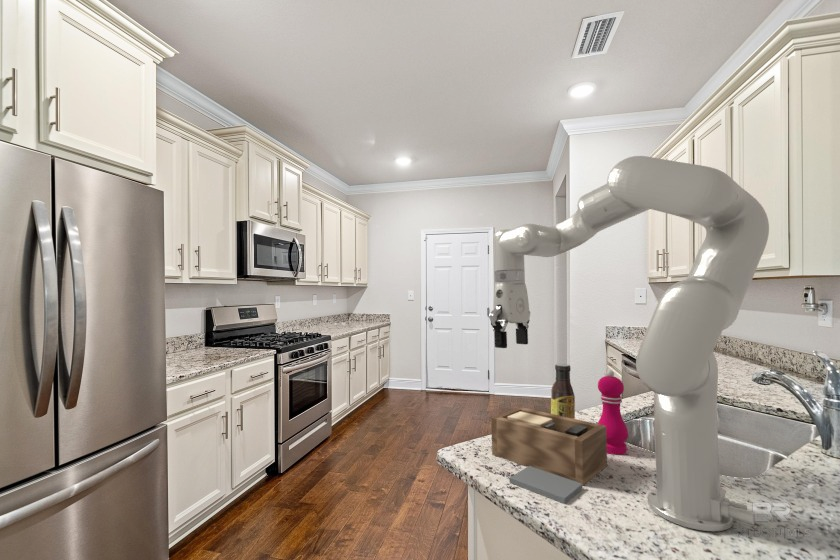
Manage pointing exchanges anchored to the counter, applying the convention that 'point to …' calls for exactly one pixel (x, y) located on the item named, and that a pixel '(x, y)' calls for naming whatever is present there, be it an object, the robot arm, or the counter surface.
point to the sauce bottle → (563, 393)
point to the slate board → (546, 484)
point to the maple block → (530, 419)
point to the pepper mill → (613, 413)
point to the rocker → (574, 430)
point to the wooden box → (551, 445)
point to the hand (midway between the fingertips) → (511, 345)
